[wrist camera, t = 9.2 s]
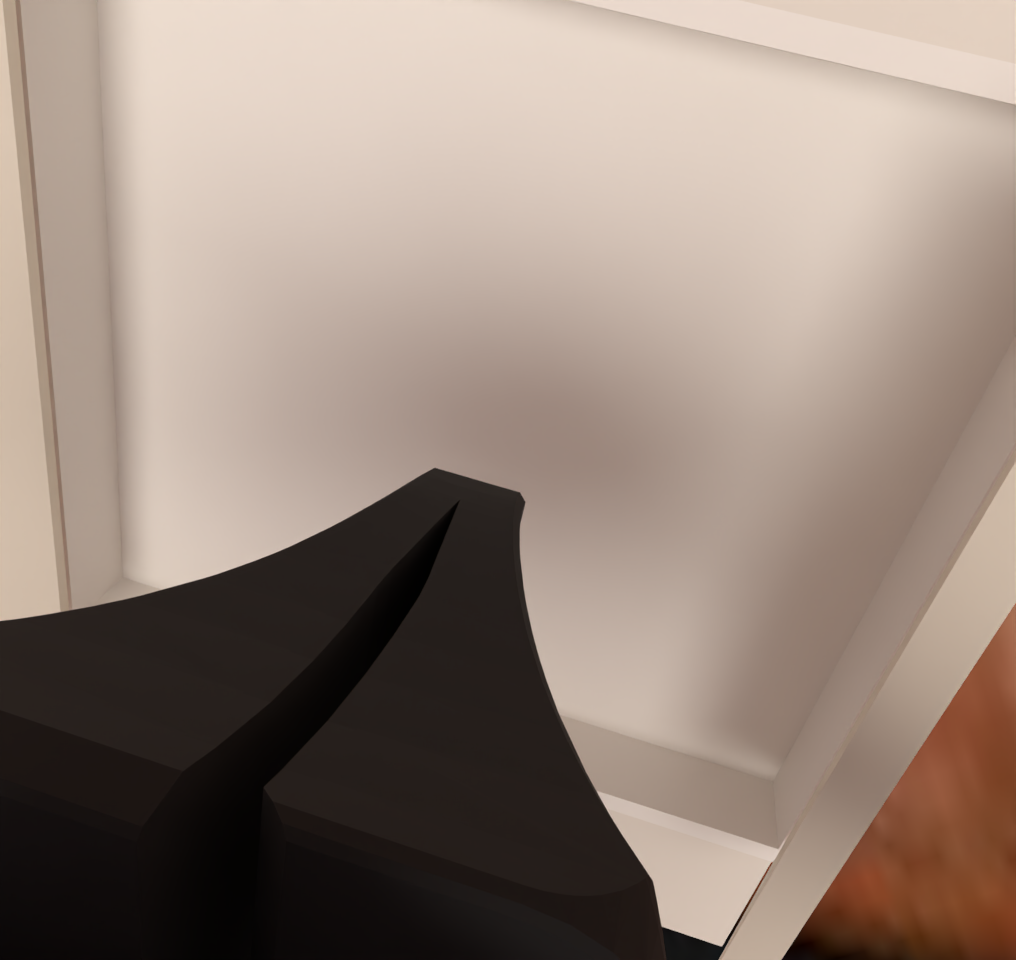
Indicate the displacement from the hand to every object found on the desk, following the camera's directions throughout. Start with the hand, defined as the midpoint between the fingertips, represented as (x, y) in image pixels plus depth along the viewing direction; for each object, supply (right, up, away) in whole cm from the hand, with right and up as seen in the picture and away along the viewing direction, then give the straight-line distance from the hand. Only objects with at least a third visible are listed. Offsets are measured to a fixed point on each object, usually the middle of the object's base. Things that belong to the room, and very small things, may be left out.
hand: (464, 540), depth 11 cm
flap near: (+6, -2, -1) cm, 6 cm away
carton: (0, +2, +4) cm, 4 cm away
